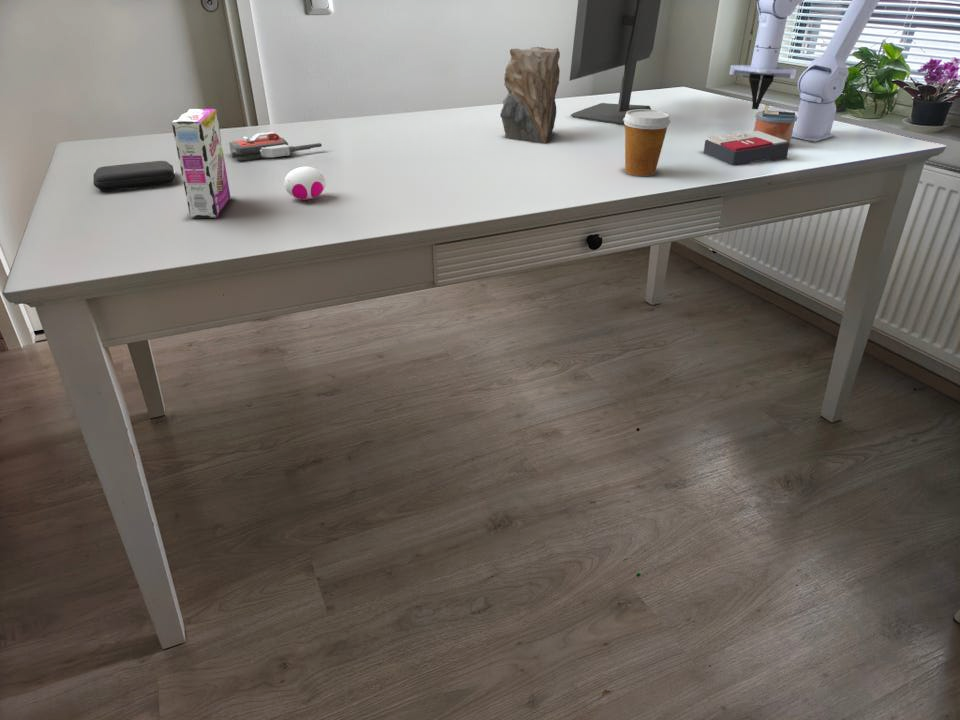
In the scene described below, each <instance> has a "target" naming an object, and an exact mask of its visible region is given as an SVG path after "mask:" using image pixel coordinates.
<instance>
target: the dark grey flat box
mask: <svg viewBox="0 0 960 720" xmlns="http://www.w3.org/2000/svg"><path fill="white" fill-rule="evenodd" d="M789 144H791V142H790V143H789V142H787V141H786V140H783V139H780V138H777V137H774V136H771V135H769V134H766V133H763V132H760V131H754V130H752V131H747V132H736V133H730V134H727V135H716V136H711V137H708V138H707V139H705V140H704V147H703V154H706V155H708V156H711V157H712V158H715V159H718V160H720V161H722V162H724V163H727V164H729V165H731V166H736V165H742V164H747V163H753V162H759V161H764V160H765V161H766V160H771V161H779V160H780V161H781V160H786V159H787V158H788V154H789V148H790V145H789Z"/></svg>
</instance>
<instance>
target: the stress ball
mask: <svg viewBox="0 0 960 720" xmlns="http://www.w3.org/2000/svg"><path fill="white" fill-rule="evenodd" d="M326 183H327V182H326V177H325V175H324V174H323V172H321V171H320V170H319V169H317V168H315V167H312V166H300V167H296V168H294V169H292V170H291V171H289V172H288V173H287V175H286V176H285V178H284V183H283V185H284V188H285V191H286V192H287V193H288V194H289V195H290V196H291V197H293V198H295V199H298V200H308V202H309V203H312V202H311V201H312V200H311V199H314V198H318V197H319V196H320V195H321V194H322V193H323V192H324V190H325V188H326V185H327V184H326Z"/></svg>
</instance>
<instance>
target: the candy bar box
mask: <svg viewBox="0 0 960 720" xmlns="http://www.w3.org/2000/svg"><path fill="white" fill-rule="evenodd" d="M171 126H172V131H173V137H174V142H175V146H176V151H177V157H178V162H179V168H180V171H181V177H182V182H183V187H184V193H185V198H186V202H187V207H188V213H189V218H192V219H204V218H205V219H209V218H210V219H214V218H218V217H219V215H220V214H221V212H222V211H223V209H224V208H225V206H226V205H227V203H228V202H229V201H230V199H231V192H230V191H231V190H230V186H229V185H230V184H229V179H228V174H227V167H226V160H225V155H224V150H223V143H222V142H223V141H222V137H221V131H220V124H219V118H218V112H217V109H216V108H189V109H188V110H186V111H185V112H184V113H182V114H181V115H180V116H178V117H176V118H175V119H173V121H172V122H171Z"/></svg>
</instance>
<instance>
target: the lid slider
mask: <svg viewBox="0 0 960 720" xmlns="http://www.w3.org/2000/svg"><path fill="white" fill-rule="evenodd" d="M764 110H765V112H764V113H767V114H779V112H777V111H778V110H769V104H765V107H764ZM768 110H769V111H768Z"/></svg>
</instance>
